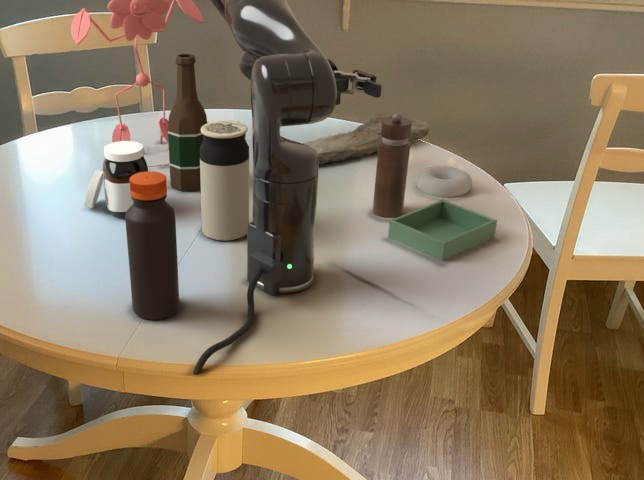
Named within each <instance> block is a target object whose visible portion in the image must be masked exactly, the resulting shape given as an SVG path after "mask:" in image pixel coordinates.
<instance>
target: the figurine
mask: <svg viewBox="0 0 644 480" xmlns="http://www.w3.org/2000/svg"><path fill="white" fill-rule="evenodd" d="M176 3H177V5H178V6H179V8H180V9H181V11H182V12H183V13H184V14H185V15H186V16H188V17H189V18H190V19H192V20H193V21H195V22H198V23H201V24H203V23H204V18H203V16H202V15H203V14H202V12H201V10H200V9H199V7H198V6H197V4H196V3H195V2H194V1H193V0H172V1H171V2H170V1H169V0H110V1H109V2H108V4H107V10H108V11H109V12H111V13H112V14H111V16H110V20H109V25H110V28H112V29H114V30H115V29H119V28H122V31H123V33H122V34H119V35H117V36H114V37H111V38H110V37H109V36H108V35H107V34H106V33H105V32H104V31H103V29H101V27H100V26H99V25H98V24H97V22H95V20H94V19H93V18H92V16H90V13H88V12H87V9H86V8H81V10H80V11H79V12H77V13H76V14H75V15H74V17H73V19H72V21H71V24H70V34H71V37H72V40H73V41H74V43H75V45H76V46H78V45H79V44H81V42H83V41H84V39H85V38H86V37H87V36H88V34H89V32H90V29H91V25H93V26H94V27H95V28H96V30H97V31H98V32H99V33H100V34H101V35H102V36H103V37H104V39H105V40H106V41H108V42H109V43H112V42H114V41H117V40H119V39H122V38H124V37H125V40H127V42H132V41H134V45H133V46H134V47H133V49H134V54H135V57H136V59H137V63H138V66H139V69H140V73H138V74H137V75H136V77H135V83H133V84H131V85H129V86H127V87H125V88H124V89H121V90H119V91H118V92H116V93H115V94H114V98H115V103H116V108H117V114H118V119H119V123H118V124H116V126H115V127H114V129H113V131H112V135H111V143H113V142H118V141H131V133H130V129H129V126H128V125H126V124H125V123H123V122H122V116H121V111H120V105H119V100H118V95H119V94H121V93H123V92H125V91H127V90H129V89H131V88H134V86H135V87H136V85H138V86H139V87H141V88H144V87H147V86H148V85H149V84H151V85H154V86H156V87H159V88H161V89H162V106H163V107H162V109H163V111H162V112H163V114H162V115H163V117H160V118H159V119H158V128H159V132H160V136H159V144H163V139H164V140H165V141H166V142H167V143H169V142H168V120H169V119H167V118H166V89H165V86H163V85H161V84H159V83H156V82H154V81H151V80H150V77H149V75H148V74H147V73H146V72H144V69H143V66H142V63H141V62H142V61H141V58H140V55H139V51H138V36H139V37H140V38H141V39H142V40H146V41H148V40H149V39H151V37H152V35H153V33H164V32H165V30H166V27H167V24H168V22H169V19H170V17H171V14H172V12H173V9H174V6H175V4H176ZM166 13H167V14H166ZM164 14H166V17H165V18H164V17H163V16H162V15H164ZM162 166H164V167H167V166H169V163H166V164H165V163H164V164H158V165H150V166H149V165H147V167H148V168H152V167H153V168H154V167H162Z"/></svg>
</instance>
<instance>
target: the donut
mask: <svg viewBox="0 0 644 480" xmlns="http://www.w3.org/2000/svg"><path fill="white" fill-rule="evenodd" d="M415 183H416V186H417V188H418V190H419V191H421V192H422V193H424V194H427V195H429V196H433V197H438V198H440V197H441V198H456V197H461V196H463V195H465V194H467V193H469V191H470V190H471V188H472V185H473V179H472V177H471V176H470V174H469V173H468V172H467V171H465V170H463V169H460V168H458V167H453V166H446V165H437V166H430V167H427V168H424V169H423V170H421V171H420V172H419V173H418V175H417V176H416V180H415Z"/></svg>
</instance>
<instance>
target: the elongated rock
mask: <svg viewBox="0 0 644 480" xmlns="http://www.w3.org/2000/svg"><path fill="white" fill-rule="evenodd" d="M393 115H394V114H389V115H383V114H382V113H381V112H379V113H374V114H372V116H370V120H368V121H367V122H366V123H362V124H360V125H358V126H357V127H356V128H355V129H354V130H352V131H348V132H343V133H337V134H333V135H330V136H329V135H328V136H326V137H323V138H317V139H314V140H310V141H309V140H308V141H306V142H303V143H302V144H305V145H308V146H310V147H311V148H313V149H314V150H315V151H316V152H317V154H318V157H319V165H322V164H326V163H334V162H338V161H339V162H341V161H342V162H343V161H345V160H347V159H354V158H355V159H357V158H359V157H365V156H370V155H371V154H373V153H376V152H378V146H379V141H380V140H381V139H382V136H381V127H382V120H383V119H385V118H388V117H392V116H393ZM402 118H405V117H403V116H402ZM408 119H409V120H411V122H412V124H411V133H410V137H409V138H408V141H409V142H410V145H412V144H414V143H415V141H419V140H420V139H422V140H423V138H424V137H426V136H427V135H429V132H430V126H429V122H426V121H424V120H422V119H416V118H412V119H411V118H408Z"/></svg>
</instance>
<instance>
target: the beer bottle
mask: <svg viewBox="0 0 644 480" xmlns="http://www.w3.org/2000/svg"><path fill="white" fill-rule="evenodd" d="M175 57H176V58H175V62H174V63H175V64H176V66H177V67H176V97H175V101H174V103H173V105H172V106H171V108H170V111H169V115H168V119H167V120H168V142H167V143H168V159H169V160H168V161H169V162H168V164H169V179H170V186H171V188H172V189H175V190H177V191H179V192H199V191H201V178H200V146H201V144H202V142H203V140H204V139H203V134H202V133H201V127H202V126H203V125H205V124H207V123H208V117H207V116H208V115H207V113H206V111H205V108H204V106H203V104H202V103H201V102H200V100H199V97H198V93H197V83H196V80H197V79H196V69H195V64H196V61H197V59H196V57H195V55H194V54H191V53H180V54H178V55H177V54H176V56H175Z"/></svg>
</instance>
